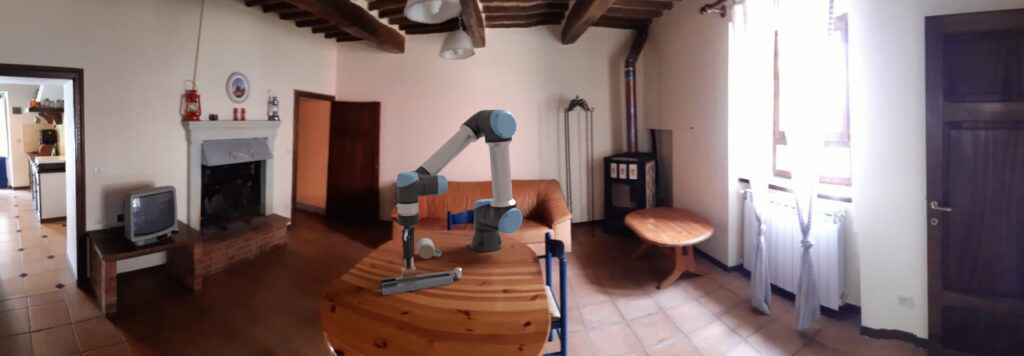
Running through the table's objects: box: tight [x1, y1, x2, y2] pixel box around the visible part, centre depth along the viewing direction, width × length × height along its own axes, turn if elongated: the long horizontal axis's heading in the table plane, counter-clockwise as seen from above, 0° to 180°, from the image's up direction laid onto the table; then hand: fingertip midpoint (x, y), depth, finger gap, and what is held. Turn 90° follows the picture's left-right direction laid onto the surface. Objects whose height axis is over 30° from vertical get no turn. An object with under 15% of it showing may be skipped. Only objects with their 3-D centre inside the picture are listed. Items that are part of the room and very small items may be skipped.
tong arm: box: [380, 266, 463, 288], centre depth 151 cm, size 29×6×5 cm, turn 110°
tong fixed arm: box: [381, 275, 454, 296], centre depth 146 cm, size 25×4×3 cm, turn 115°
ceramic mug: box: [416, 237, 443, 260], centre depth 179 cm, size 11×8×8 cm
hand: (409, 273), depth 154 cm, fingers closed
